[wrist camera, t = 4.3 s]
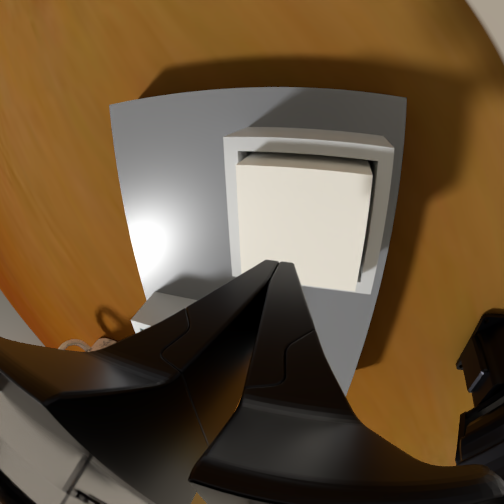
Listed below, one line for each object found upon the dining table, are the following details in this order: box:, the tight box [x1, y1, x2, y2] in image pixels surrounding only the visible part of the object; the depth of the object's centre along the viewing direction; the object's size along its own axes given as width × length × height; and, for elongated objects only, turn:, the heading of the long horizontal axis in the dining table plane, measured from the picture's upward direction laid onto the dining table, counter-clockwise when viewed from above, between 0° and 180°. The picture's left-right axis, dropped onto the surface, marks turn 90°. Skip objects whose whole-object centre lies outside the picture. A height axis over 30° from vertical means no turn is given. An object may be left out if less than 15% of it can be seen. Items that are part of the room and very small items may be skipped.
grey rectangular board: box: [109, 87, 407, 397], centre depth 19 cm, size 17×23×6 cm
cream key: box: [236, 151, 373, 292], centre depth 13 cm, size 5×5×3 cm
